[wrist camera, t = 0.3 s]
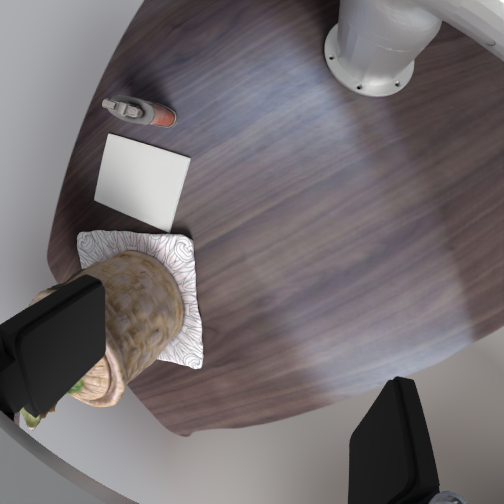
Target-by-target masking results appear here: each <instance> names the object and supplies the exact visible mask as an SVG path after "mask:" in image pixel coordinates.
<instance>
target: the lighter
mask: <svg viewBox="0 0 504 504" xmlns="http://www.w3.org/2000/svg"><path fill="white" fill-rule="evenodd" d="M102 106H103V107H105V108H108V110H109V112H110V113H112V114H113V115H115V116H116V117H118V118H120V119H122V120H125V121H128V122H132V123H137V124H146V125H148V124H152V125H156V126H161V127H168V128H172V127H174V126H175V125H176V124H177V122H178V114H177V113H176V112H175V111H173V110H172V109H170V108H168V107H166V106H164V105H161V104H158V103H154V102H149V101H146V100H142V99H137V98H134V97H129V96H121V95H116V96H113V97H112V98H111V99H104V101H103V103H102Z"/></svg>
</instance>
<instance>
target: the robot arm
mask: <svg viewBox="0 0 504 504" xmlns="http://www.w3.org/2000/svg"><path fill="white" fill-rule="evenodd" d="M442 21H445V22H447V23H449V24H450V25H452V26H453V27H455V28H457V29H458V30H460V31H461V32H463V33H464V34H466V35H467V36H469V37H470V38H472V39H473V40H475V41H476V42H478V43H479V44H480V45H482V46H483V47H485V48H486V49H487V50H489V51H490V52H491V53H493V54H494V55H496V56H497V57H498V58H499V59H501V60H502V61H503V62H504V0H340V7H339V20H338V23H337V24H336V25H335V26H334V27H333V28H332V29H331V30H330V32H329V34H328V35H327V37H326V41H325V49H324V51H325V59H326V62H327V65H328V67H329V69H330V71H331V73H332V74H333V75H334V77H335V78H336V79H337V80H338V81H339V82H340V83H341V84H342V85H343V86H345V87H346V88H348V89H349V90H351V91H353V92H355V93H358V94H360V95H364V96H368V97H385V96H389V95H392V94H394V93H396V92H398V91H400V90H401V89H402V88H403V87H404V86H405V85H406V84H407V83H408V82H409V80H410V78H411V77H412V74H413V70H414V59H415V58H416V56H417V55H418V54H419V53H420V52H421V51H422V50H423V49H424V48H425V47H426V46H427V45H428V43H429V42H430V41H431V40H432V39H433V38H434V37H435V36H436V34H437V33H438V31H439V29H440V26H441V23H442ZM329 58H333V60H330V59H329ZM395 84H397V85H398V87H397V86H395ZM357 87H360V89H357ZM105 352H106V328H105V287H104V286H103V284H102V281H101V280H100V279H97V278H95V277H93V276H91V275H88V274H85V275H83V276H81V277H79V278H77V279H76V280H74V281H72V282H70V283H69V284H67V285H65V286H63V287H62V288H60V289H58V290H56V291H55V292H53V293H51V294H50V295H48V296H46V297H45V298H43V299H41V300H39V301H38V302H36V303H34V304H33V305H31V306H30V307H28V308H26V309H25V310H23V311H21V312H20V313H18V314H16V315H15V316H13V317H12V318H10V319H9V320H7V321H5V322H4V323H2V324H1V325H0V504H139V503H137V502H135V501H133V500H131V499H129V498H127V497H125V496H123V495H121V494H119V493H117V492H115V491H113V490H111V489H110V488H108V487H106V486H104V485H102V484H101V483H99V482H97V481H95V480H94V479H92V478H90V477H89V476H87V475H85V474H84V473H82V472H80V471H79V470H77V469H76V468H74V467H73V466H71V465H70V464H68V463H67V462H65V461H64V460H62V459H61V458H59V457H58V456H57V455H55V454H53V453H52V452H51V451H50V450H48V449H47V448H45V447H44V446H43V445H41V444H40V443H39V442H37V441H36V440H35V439H34V438H32V437H31V436H30V435H29V434H27V433H26V432H25V431H24V430H23V429H21V428H20V427H19V415H20V410H21V409H22V408H23V407H24V409H25V411H27V412H28V413H29V414H30V415H32V416H33V417H34V418H37V417H38V416H39V415H40V414H41V413H42V414H45V413H46V412H48V411H49V410H50V409H51V408H52V407H53V406H54V405H55V404H56V403H57V402H58V401H59V400H60V399H61V398H62V397H63V396H64V395H65V394H66V393H67V392H68V391H69V390H70V389H71V388H72V387H73V386H74V385H75V384H76V383H77V382H78V381H79V380H80V379H81V378H82V377H83V376H84V375H85V374H86V373H87V372H88V371H89V370H90V369H91V368H92V367H94V366H95V365H96V364H97V363H98V362H99V361H100V360H101V359H102V358H103V357H104V355H105ZM349 449H350V450H349V451H350V452H349V490H348V491H349V492H348V504H467V503H466V501H465V500H464V499H463V498H462V497H461V496H460V495H459V494H457V493H455V492H450V491H444V492H440V491H439V486H440V484H439V479H438V474H437V468H436V464H435V459H434V455H433V450H432V445H431V441H430V437H429V433H428V429H427V425H426V421H425V417H424V413H423V409H422V406H421V402H420V399H419V395H418V392H417V388H416V385H415V382H414V380H412V379H407V378H403V377H398V376H397V377H395V378H394V379H393V380H389V381H388V382H387V383H386V384H385V386H384V388H383V389H382V391H381V393H380V394H379V396H378V397H377V399H376V400H375V402H374V403H373V405H372V406H371V408H370V409H369V411H368V412H367V414H366V415H365V417H364V418H363V419H362V421H361V422H360V424H359V425H358V426H357V428H356V429H355V431H354V432H353V434H352V436H351V438H350V444H349Z"/></svg>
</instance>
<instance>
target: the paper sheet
mask: <svg viewBox="0 0 504 504" xmlns="http://www.w3.org/2000/svg"><path fill="white" fill-rule="evenodd" d="M190 160H191V158H188V157H185V156H182V155H179V154H176V153H173V152H170V151H167V150H163V149H160V148H157V147H154V146H151V145H147V144H144V143H141V142H137V141H134V140H131V139H127V138H124V137H120V136H117V135H113V134H108V137H107V141H106V146H105V150H104V154H103V158H102V163H101V167H100V172H99V177H98V182H97V187H96V192H95V198H94V200H95V201H97V202H99V203H101V204H104V205H106V206H108V207H111V208H113V209H115V210H117V211H120V212H122V213H124V214H127V215H129V216H131V217H134V218H136V219H138V220H141V221H143V222H145V223H148V224H150V225H152V226H155V227H157V228H159V229H162V230H164V231H166V232H169V233H170V231H171V227H172V224H173V220H174V216H175V212H176V209H177V205H178V201H179V198H180V194H181V191H182V187H183V184H184V180H185V177H186V174H187V170H188V167H189V164H190Z"/></svg>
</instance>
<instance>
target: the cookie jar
mask: <svg viewBox="0 0 504 504" xmlns="http://www.w3.org/2000/svg"><path fill="white" fill-rule="evenodd" d="M77 249H78V253H79V257H80V263H81V266H82V269H81V270H79V271H77V272H76V273H75V274H73V275H72V277H70V278H69V279H68V280H67V281H66V282H65V283H63V284H58V285H55V286H52V287H51V288H48V289H47V290H44V291H42V292H40V293H39V294H38V295H37V296H36V297H35V298H34V299H33V300H32V301H31V303H30V304H29V307H30V306H31V305H33V304H34V303H36V302H38V301H39V300H41V299H43V298H45V297H46V296H48V295H50V294H51V293H53V292H55V291H56V290H58V289H60V288H62V287H63V286H65V285H67V284H69V283H70V282H72V281H74V280H76V279H77V278H79V277H81V276H83V275H85V274H88V275H91V276H93V277H95V278H97V279H100V280H101V281H102V284H103V286H104V287H105V328H106V352H105V355H104V357H103V358H102V359H101V360H100V361H99V362H98V363H97V364H96V365H95V366H94V367H92V368H91V369H90V370H89V371H88V372H87V373H86V374H85V375H84V376H83V377H82V378H81V379H80V380H79V381H78V382H77V383H76V384H75V385H74V386H73V387H72V388H71V389H70V390H69V391H68V392H67V393H66V394H68V395H71V396H72V397H74V398H76V399H78V400H80V401H82V402H84V403H86V404H89V405H91V406H96V407H108V406H113V405H115V404H116V403H117V402H118V401H119V399H120V398H121V396H122V395H123V392H124V390H125V388H126V386H127V383H128V382H130V381H131V380H133V379H134V378H135V377H136V376H137V375H138V374H139V373H140V372H142V371H143V370H144V369H145V368H147V367H148V366H150V365H151V364H152V363H153V362H154V361H155V360H156V359H160V360H163V361H171V362H175V363H177V364H183V365H185V366H190V367H191V368H194V369H197V368H201V366H202V361H203V353H202V352H203V343H202V324H201V318H200V315H199V311H198V304H197V300H196V272H195V258H194V244H193V240H191V239H189V238H188V237H186V236H184V235H181V234H143V233H134V232H129V231H116V230H115V231H104V230H96V231H95V230H94V231H92V232H80V233H79V235H78V236H77ZM56 404H57V403H56ZM56 404H55V405H54V406H53V407H52V408H51V409H50V410H49V411H48V412H51V413H53V412H55V406H56ZM20 411H21V413H22V414H23V416H24V419H25V421H26V424H27V426H28V428H29V429H31V430H34V429H35V428H36V426H37V425H38V424H39V422H40V420H41V418H45V417H46V415H47V413H48V412H46V413H45V414H42V413H41V414H40V415H39V416H38V417H37V418H34V417H33V416H32V415H30V414H29V413H28V412H27V411H25V409H24V407H23V408H22V409H21V410H20Z"/></svg>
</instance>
